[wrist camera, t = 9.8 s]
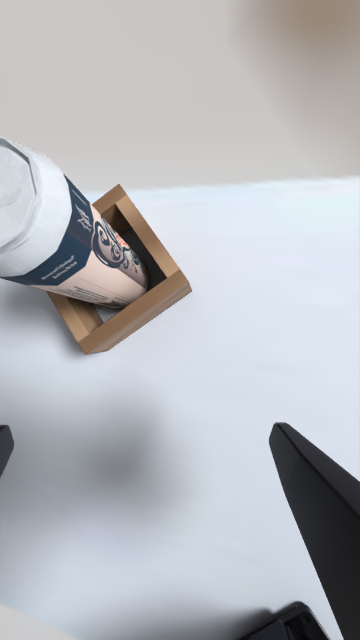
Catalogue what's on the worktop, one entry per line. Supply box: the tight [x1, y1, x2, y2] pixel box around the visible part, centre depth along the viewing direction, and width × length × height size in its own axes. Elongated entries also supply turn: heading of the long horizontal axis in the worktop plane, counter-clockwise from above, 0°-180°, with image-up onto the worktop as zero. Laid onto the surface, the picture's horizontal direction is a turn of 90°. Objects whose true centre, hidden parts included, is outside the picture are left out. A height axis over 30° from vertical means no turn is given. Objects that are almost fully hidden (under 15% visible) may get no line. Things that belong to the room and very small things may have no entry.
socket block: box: [46, 184, 192, 355], centre depth 17 cm, size 8×8×4 cm
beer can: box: [0, 137, 149, 309], centre depth 13 cm, size 5×5×12 cm
